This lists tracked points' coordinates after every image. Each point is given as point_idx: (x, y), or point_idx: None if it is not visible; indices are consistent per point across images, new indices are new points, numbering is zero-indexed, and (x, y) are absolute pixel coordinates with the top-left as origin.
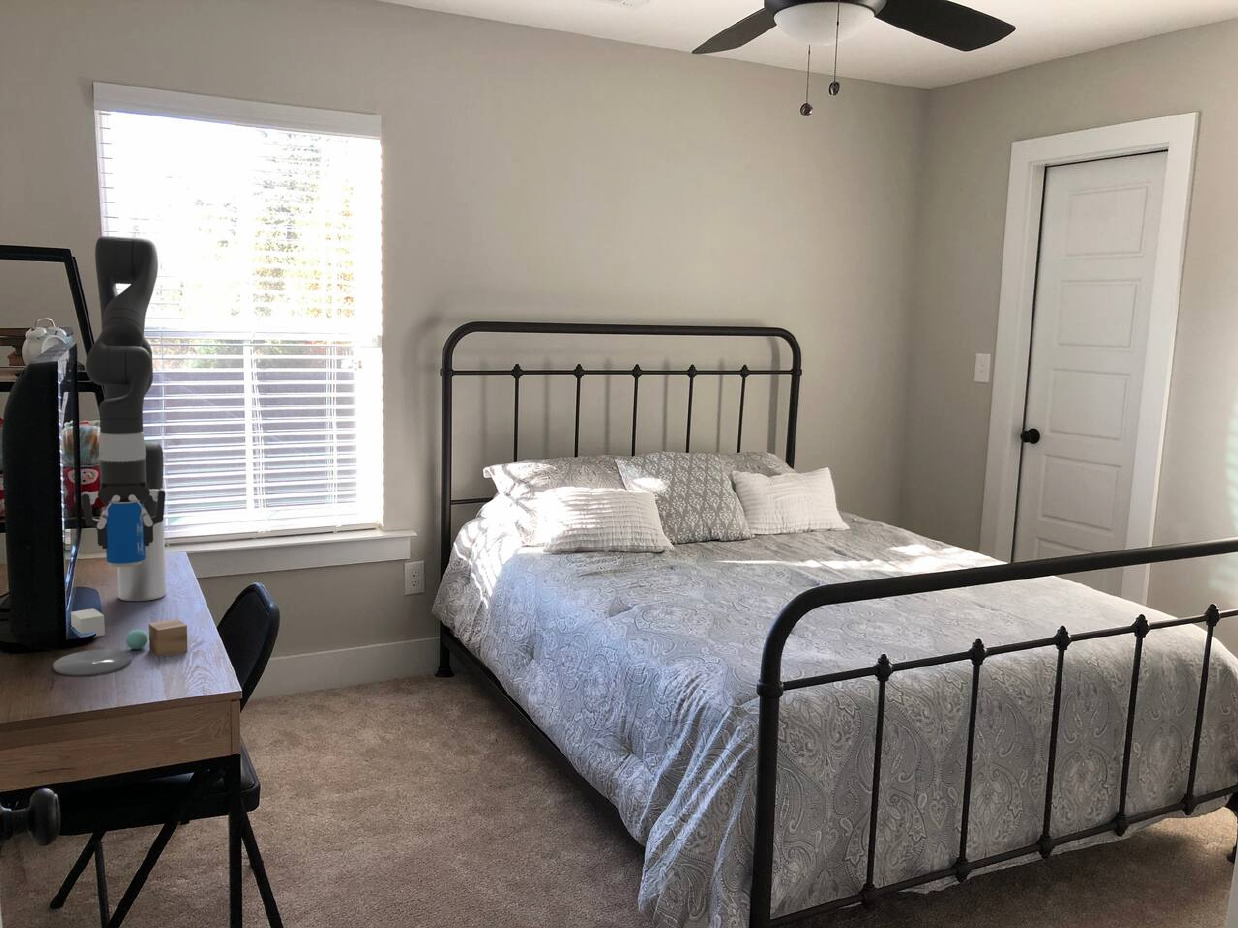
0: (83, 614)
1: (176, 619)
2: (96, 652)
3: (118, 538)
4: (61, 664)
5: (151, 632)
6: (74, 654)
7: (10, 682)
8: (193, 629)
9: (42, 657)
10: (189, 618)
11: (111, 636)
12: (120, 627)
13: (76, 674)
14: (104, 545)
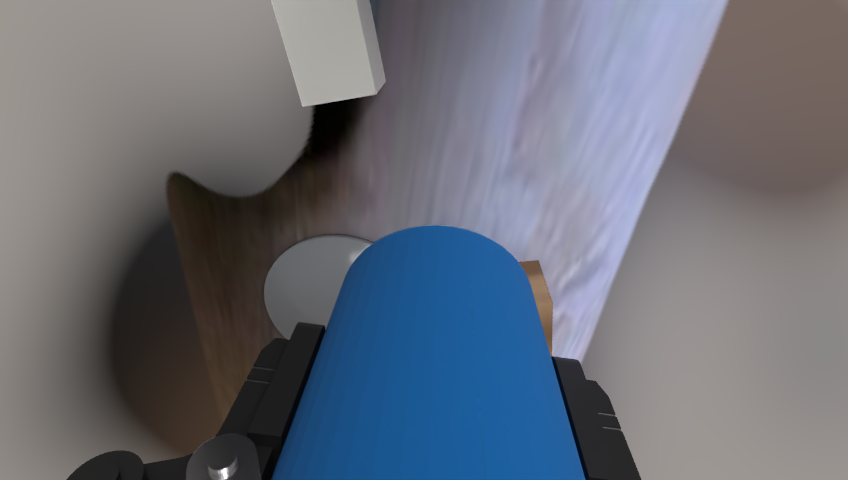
0: (309, 44)
1: (548, 306)
2: (351, 258)
3: None
4: (280, 301)
5: None
6: (303, 250)
7: (198, 329)
8: (627, 149)
9: (234, 209)
10: (677, 6)
11: (402, 106)
12: (441, 9)
13: None
14: None
